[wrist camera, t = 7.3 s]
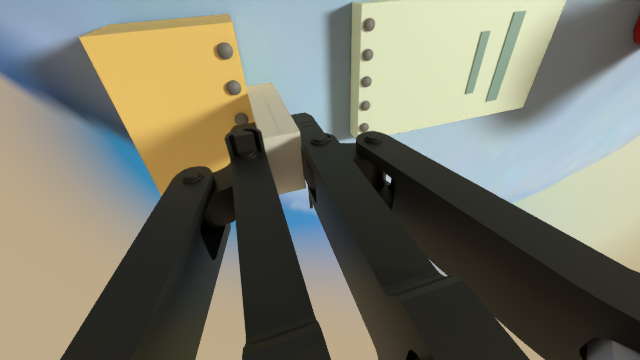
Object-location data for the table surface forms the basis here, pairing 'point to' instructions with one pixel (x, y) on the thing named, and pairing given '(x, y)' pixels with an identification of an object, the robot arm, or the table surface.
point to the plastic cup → (637, 32)
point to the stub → (174, 89)
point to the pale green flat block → (443, 59)
